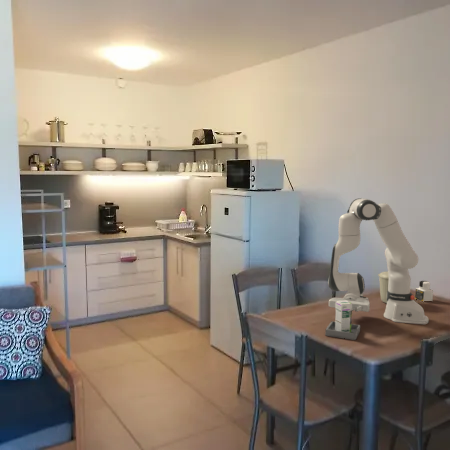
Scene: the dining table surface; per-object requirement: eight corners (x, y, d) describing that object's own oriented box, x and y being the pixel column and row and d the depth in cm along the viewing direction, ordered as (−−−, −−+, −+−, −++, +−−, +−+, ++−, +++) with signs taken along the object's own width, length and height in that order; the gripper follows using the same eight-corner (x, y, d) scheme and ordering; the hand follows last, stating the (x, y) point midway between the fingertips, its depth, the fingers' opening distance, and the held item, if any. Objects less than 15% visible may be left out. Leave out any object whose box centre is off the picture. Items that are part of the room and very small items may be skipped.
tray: (360, 331, 228) (360, 325, 227) (355, 340, 215) (355, 333, 215) (331, 326, 234) (331, 321, 233) (325, 335, 221) (325, 329, 221)
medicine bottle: (414, 299, 288) (416, 280, 286) (424, 298, 290) (425, 279, 289) (423, 302, 281) (424, 283, 280) (432, 301, 283) (433, 282, 282)
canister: (383, 297, 292) (384, 264, 290) (412, 302, 281) (414, 268, 279) (372, 302, 279) (373, 268, 276) (402, 308, 267) (404, 272, 265)
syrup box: (340, 333, 221) (341, 304, 219) (334, 329, 226) (335, 300, 225) (351, 332, 222) (352, 303, 221) (345, 328, 228) (346, 300, 226)
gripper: (331, 293, 246) (325, 299, 233) (371, 298, 237) (368, 304, 225) (331, 305, 246) (325, 312, 234) (371, 310, 238) (367, 317, 226)
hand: (346, 308), depth 229 cm, fingers open, 8 cm apart
